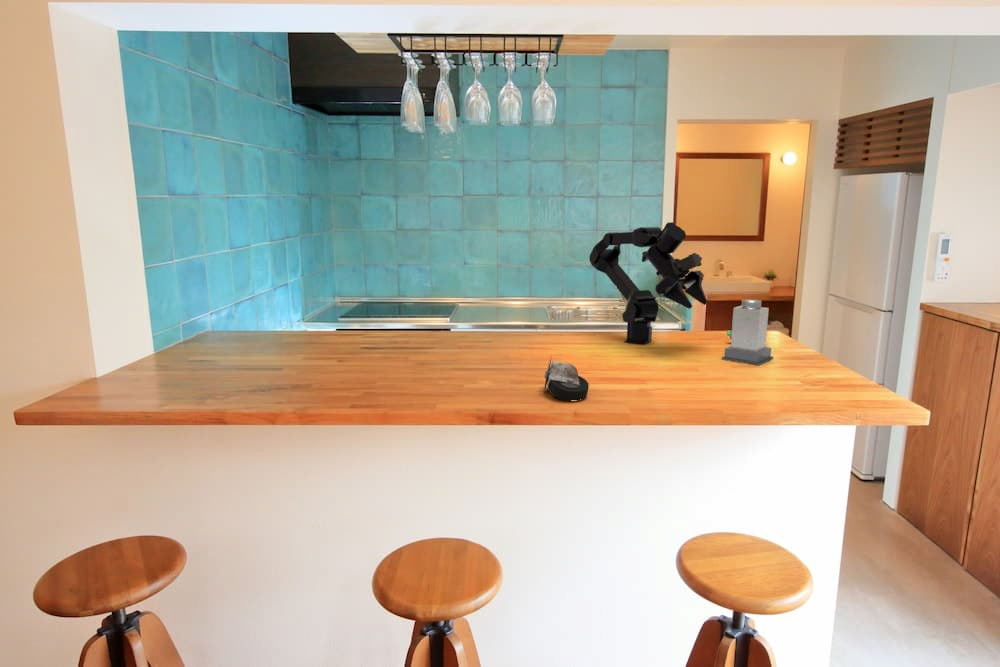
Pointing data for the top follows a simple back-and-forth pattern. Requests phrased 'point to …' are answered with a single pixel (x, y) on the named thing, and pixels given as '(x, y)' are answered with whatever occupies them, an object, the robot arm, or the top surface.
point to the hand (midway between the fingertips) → (698, 305)
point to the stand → (748, 355)
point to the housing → (749, 326)
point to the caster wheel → (565, 381)
